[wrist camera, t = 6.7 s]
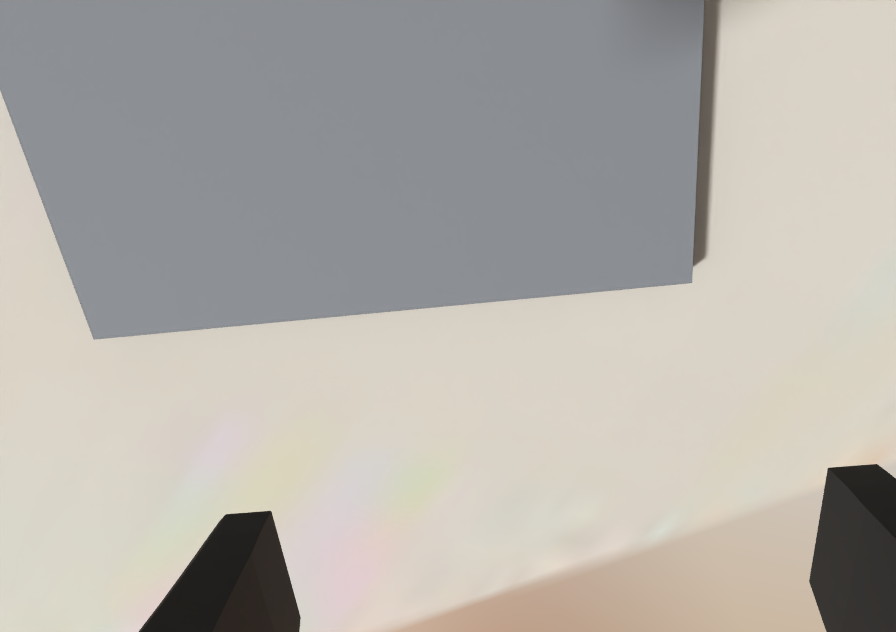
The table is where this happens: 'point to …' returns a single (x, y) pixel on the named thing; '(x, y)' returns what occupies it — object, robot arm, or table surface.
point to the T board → (354, 151)
